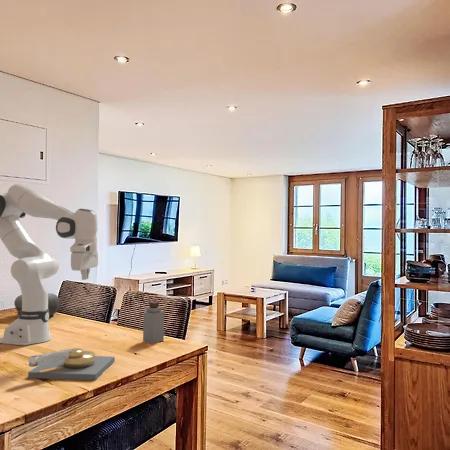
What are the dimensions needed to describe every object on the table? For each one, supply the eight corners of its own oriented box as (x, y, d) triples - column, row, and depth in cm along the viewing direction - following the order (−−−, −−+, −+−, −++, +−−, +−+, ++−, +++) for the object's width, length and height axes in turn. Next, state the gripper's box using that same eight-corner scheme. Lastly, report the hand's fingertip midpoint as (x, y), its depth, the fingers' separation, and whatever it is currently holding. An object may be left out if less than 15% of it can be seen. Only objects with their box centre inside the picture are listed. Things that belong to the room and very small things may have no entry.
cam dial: (86, 356, 159) (86, 341, 160) (100, 363, 152) (100, 347, 152) (22, 371, 143) (23, 354, 143) (35, 379, 135) (35, 361, 135)
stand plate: (27, 378, 142) (27, 371, 142) (55, 359, 162) (55, 354, 162) (95, 380, 141) (95, 374, 141) (114, 361, 161) (114, 355, 161)
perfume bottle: (153, 343, 188) (154, 304, 188) (143, 341, 191) (143, 302, 192) (163, 340, 194) (164, 302, 194) (152, 338, 197) (153, 300, 197)
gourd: (10, 318, 224) (15, 286, 228) (13, 316, 247) (18, 287, 250) (59, 319, 234) (63, 289, 237) (58, 318, 256) (61, 290, 260)
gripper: (88, 245, 185) (87, 276, 185) (68, 247, 164) (67, 282, 164) (102, 246, 184) (101, 276, 184) (83, 248, 164) (82, 282, 164)
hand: (85, 279), depth 174 cm, fingers closed
